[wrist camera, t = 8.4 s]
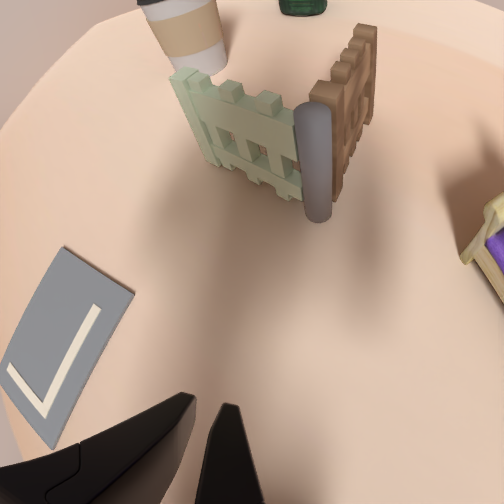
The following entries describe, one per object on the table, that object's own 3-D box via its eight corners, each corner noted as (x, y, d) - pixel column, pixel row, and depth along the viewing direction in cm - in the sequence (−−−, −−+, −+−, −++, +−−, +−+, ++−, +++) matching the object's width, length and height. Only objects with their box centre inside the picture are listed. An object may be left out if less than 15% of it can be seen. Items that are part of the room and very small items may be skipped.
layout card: (53, 450, 19) (50, 450, 19) (-3, 377, 23) (-6, 376, 23) (134, 295, 24) (132, 293, 24) (63, 247, 28) (61, 246, 28)
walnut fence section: (335, 202, 25) (336, 99, 16) (316, 196, 25) (308, 93, 16) (372, 115, 28) (377, 26, 19) (357, 111, 29) (357, 23, 20)
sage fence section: (336, 208, 24) (338, 109, 15) (322, 227, 23) (318, 130, 15) (219, 148, 29) (186, 64, 21) (204, 162, 29) (166, 79, 20)
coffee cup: (177, 59, 41) (142, -24, 28) (237, 46, 39) (210, -44, 26) (164, 92, 37) (119, -4, 24) (233, 77, 35) (199, -31, 22)
